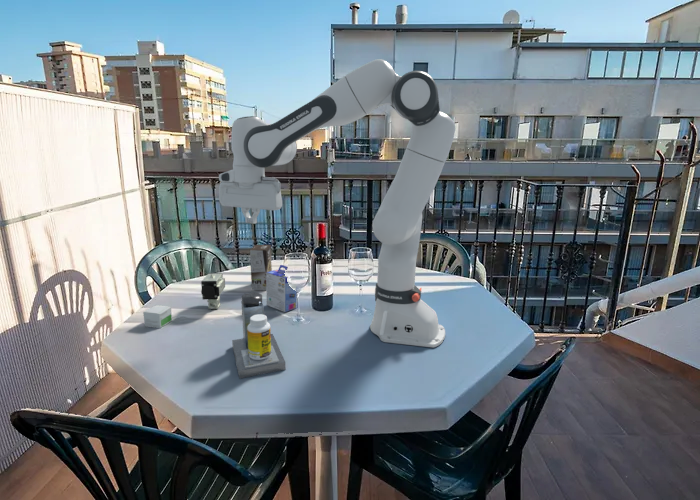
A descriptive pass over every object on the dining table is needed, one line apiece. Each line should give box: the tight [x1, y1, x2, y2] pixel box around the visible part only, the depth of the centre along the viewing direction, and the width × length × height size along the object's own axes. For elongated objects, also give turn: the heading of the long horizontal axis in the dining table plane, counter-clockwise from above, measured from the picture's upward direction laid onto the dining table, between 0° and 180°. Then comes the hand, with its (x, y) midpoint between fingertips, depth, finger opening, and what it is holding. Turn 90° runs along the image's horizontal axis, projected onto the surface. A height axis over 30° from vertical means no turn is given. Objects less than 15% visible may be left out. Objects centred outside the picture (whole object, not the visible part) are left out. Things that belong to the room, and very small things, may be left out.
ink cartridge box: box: [265, 264, 297, 313], centre depth 129 cm, size 10×6×14 cm, turn 53°
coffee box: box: [249, 244, 273, 291], centre depth 148 cm, size 9×6×16 cm
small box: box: [142, 304, 173, 329], centre depth 116 cm, size 6×6×5 cm
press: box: [231, 300, 287, 380], centre depth 96 cm, size 16×11×13 cm
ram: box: [241, 292, 263, 306], centre depth 101 cm, size 5×5×12 cm
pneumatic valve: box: [200, 272, 226, 310], centre depth 127 cm, size 6×12×12 cm, turn 5°
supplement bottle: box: [247, 314, 272, 360], centre depth 93 cm, size 6×6×10 cm
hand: (251, 223), depth 113 cm, fingers closed
